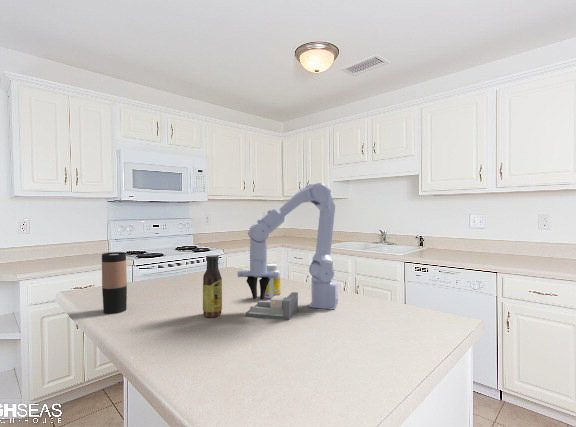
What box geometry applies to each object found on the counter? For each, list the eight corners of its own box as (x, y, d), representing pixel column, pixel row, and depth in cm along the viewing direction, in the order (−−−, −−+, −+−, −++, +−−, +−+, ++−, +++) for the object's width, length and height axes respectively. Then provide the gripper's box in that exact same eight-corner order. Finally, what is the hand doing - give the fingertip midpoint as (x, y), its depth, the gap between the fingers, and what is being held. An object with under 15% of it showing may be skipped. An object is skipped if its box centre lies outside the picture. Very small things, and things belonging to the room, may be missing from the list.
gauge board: (297, 309, 119) (297, 292, 119) (289, 319, 109) (289, 301, 108) (257, 306, 123) (257, 289, 123) (245, 315, 113) (245, 297, 113)
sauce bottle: (217, 318, 110) (216, 257, 110) (199, 317, 111) (198, 256, 111) (225, 312, 117) (224, 254, 116) (208, 311, 118) (207, 253, 117)
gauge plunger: (286, 307, 117) (286, 296, 117) (279, 315, 110) (279, 302, 110) (275, 307, 118) (275, 295, 118) (267, 314, 111) (267, 301, 111)
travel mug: (97, 312, 117) (96, 254, 117) (117, 306, 124) (116, 251, 123) (112, 315, 114) (110, 255, 113) (132, 309, 121) (131, 252, 120)
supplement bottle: (281, 294, 139) (281, 263, 138) (279, 299, 132) (279, 266, 132) (265, 294, 139) (264, 263, 139) (262, 299, 133) (261, 266, 132)
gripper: (281, 258, 119) (282, 296, 119) (242, 256, 122) (242, 294, 123) (276, 261, 112) (276, 302, 113) (235, 259, 116) (235, 299, 116)
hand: (258, 298), depth 117 cm, fingers closed
